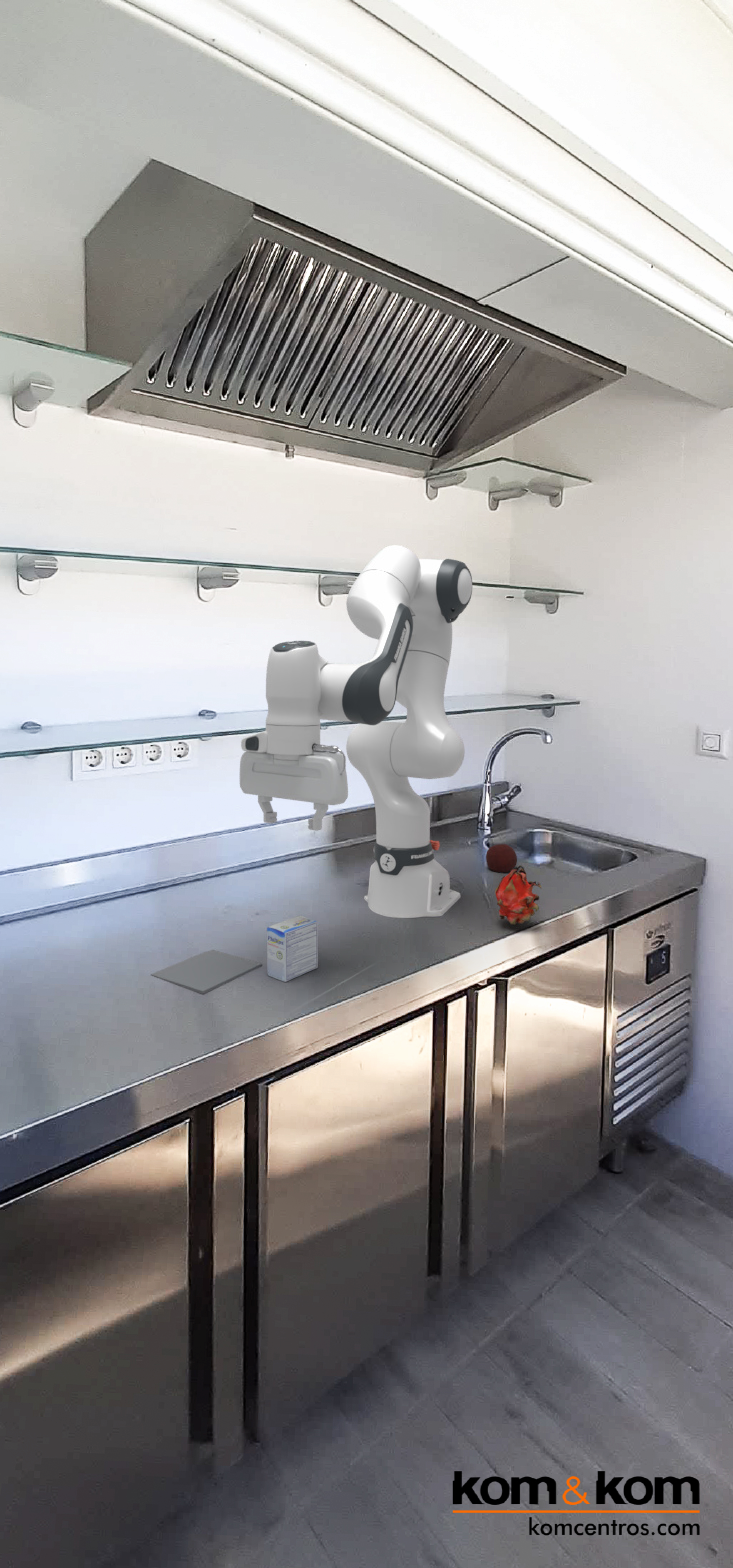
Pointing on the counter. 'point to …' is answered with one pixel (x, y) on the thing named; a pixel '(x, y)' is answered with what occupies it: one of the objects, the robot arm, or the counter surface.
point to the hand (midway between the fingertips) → (292, 826)
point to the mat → (207, 971)
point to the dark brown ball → (501, 858)
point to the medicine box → (292, 948)
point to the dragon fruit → (516, 897)
